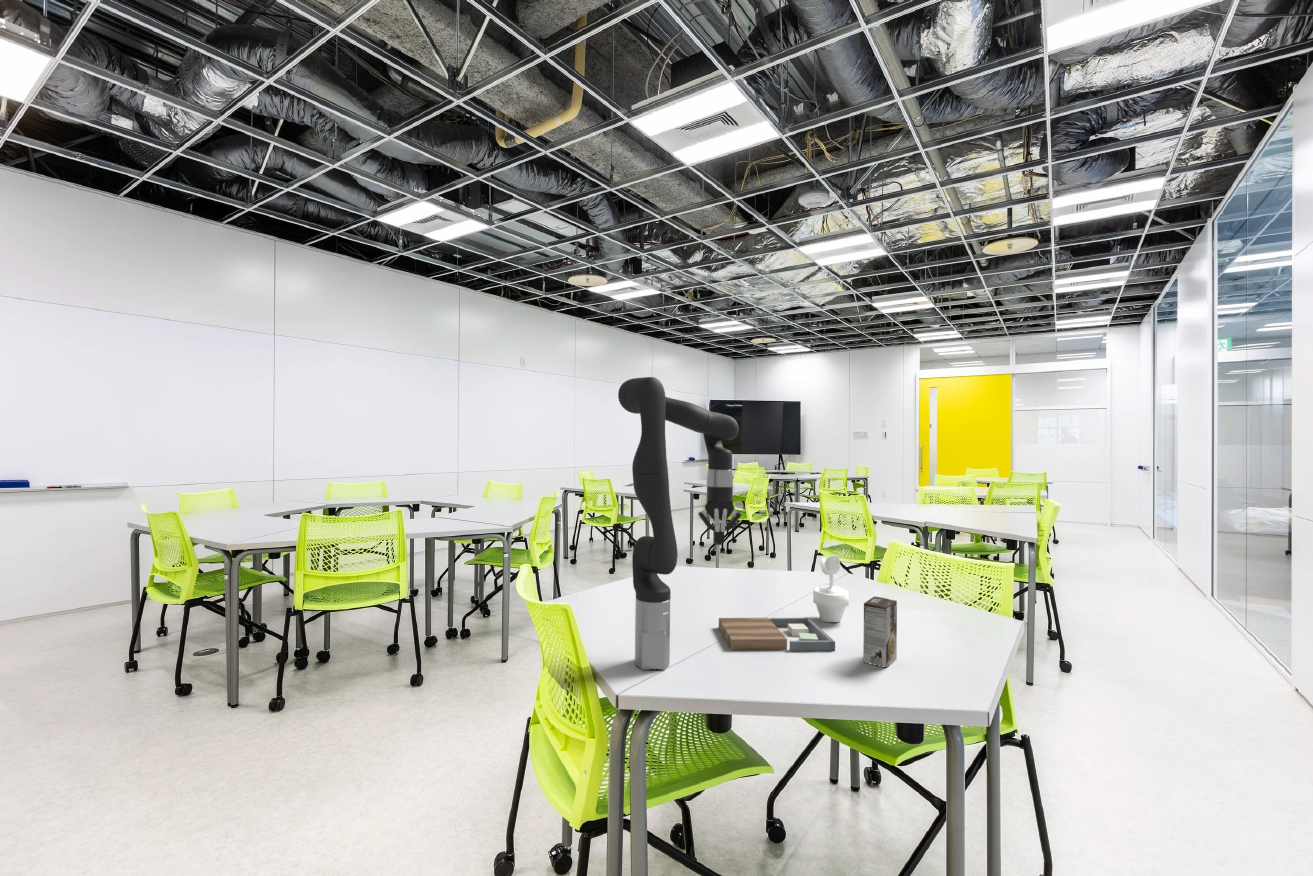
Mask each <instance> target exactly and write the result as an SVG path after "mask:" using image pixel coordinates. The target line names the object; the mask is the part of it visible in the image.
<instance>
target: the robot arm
mask: <svg viewBox="0 0 1313 876" xmlns="http://www.w3.org/2000/svg"><path fill="white" fill-rule="evenodd" d="M617 393H618V394H617V397H618V401H619V404H620V406H621V407H622V408H623V410H625V411H627V412H628V413H631V414H634V415H635V414H638V415H639V416H640V425H641V433H640V440H639V442H638V446H637V448H636V451H635V453H634V456H633V460H632V464H631V465H632V468H631V469H632V471H631V472H632V482H633V490H634V494H635V495H636V498H637V500H638V502H639V504H640V505H641V507H642V509H643V510H644V511H645V513H646V515H647V517H648V519H649V522H650V524H651V528H652V534H653V536H650V535H644V536H640V537H639V538H638V539H637V540H636V541H635V543H634V546H633V549H632V555H631V556H632V557H631V558H632V559H631V560H632V586H633V589H634V591H635V612H634V613H635V614H634V616H635V618H634V619H635V621H634V622H635V623H634V628H635V629H634V664H636V665H637V666H636V665H635V666H636V667H638V666H639V667H638V668H640V670H641V671H651V670H650V669H654V670H653V671H655V669H659V670H660V669H661V670H662V671H663V670H666V668H667V667H669V665H670V663H671V661H670V659H671V656H670V655H671V653H670V652H671V650H670V649H671V646H670V645H671V595H672V594H671V588H670V586H669V585H667V584H666V583H665V582H664V581H663V580H661V578H660V577H659V575H665V576H666V575H670V574H672V573H673V572H674V570H675V569H676V567H677V563H678V545H677V538H676V533H675V528H674V522H673V516H672V506H671V498H670V497H671V496H670V482H669V481H670V480H669V479H670V478H669V466H668V459H667V458H668V457H667V445H666V444H667V442H666V441H667V440H666V421H667V422H668V423H669V422H670V423H673V424H675V425H677V426H680V427H683V428H685V429H688V430H690V431H693V432H695V433H699V434H702V435H703V440H704V444H705V448H706V452H707V457H708V458H707V464H708V465H707V475H706V476H707V477H706V503H705V505H704V509H702V510H701V511H698V513H697V516H699V518H700V519H701V520H702V522H703V523H704V524H705V526H706V527H707V528H708V530H710V531H713V542H714V543H715V545H717V546H721V545H723V544H724V542H725V532H726V531H731V529H732V528H733V526H734V525H735V524H736V523H737V522H738V520H739V519H740V518H741V517H742V513H740V512H739V511H737V510H736V509H735V506H734V503H733V501H734V498H733V497H734V494H733V493H734V492H733V491H734V488H733V487H734V476H733V453H732V450H729V449H727V448H724V446H723V443H722V442H725V441H726V442H727V441H732V440H734V439H735V438H736V437H737V436H738V435H739V430H740V429H739V428H740V427H739V423H738V422H737V420H736V419H735V418H734V417H732V416H730V415H728V414H724V413H720V412H716V411H711V410H709V409H706V408H704V407H702V406H700V405H697V404H695V403H692V402H689V401H686V400H680V399H676V398H671V397H669V396H666V392H665V387H664V385H663V383H662V381H660V380H659V379H658V378H657V377H654V376H653V377H652V376H646V377H635V378H634V377H633V378H630V379H627V380H626V381H624V382H623V383H622V384H621V385H620V387H619V389H618V392H617ZM708 515H709V517H710V518H711V519H712V524H713V525H712V524H711V522H710V521H709V520H708V518H707V517H708ZM730 516H731V518H730V519H729V517H730ZM727 519H729V521H728V522H727ZM661 670H660V671H661Z"/></svg>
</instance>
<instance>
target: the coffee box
mask: <svg viewBox="0 0 1313 876" xmlns="http://www.w3.org/2000/svg"><path fill="white" fill-rule="evenodd" d="M897 610H898V602H897V600H895V599H890V598H886V597H881V596H880V597H879V596H873V597H871V598H870V599H868V600H867V601H865V602H864V603H863V643H862V645H863V648H862V649H863V652H862V653H863V655H862V656H863V663H864V662H867V663H871V664H875V665H880V666H884V667H887V666H888V665H889V664H890V663H891V662H892V663H893V662H895V661H896V660H897V655H898V654H897V653H898V651H897V650H898V649H897V644H898V642H897V640H898V638H897V637H898V635H897V633H898V631H897V630H898V624H897V623H898V621H897V619H898V618H897V617H898V616H897V615H898V611H897ZM867 663H866V664H867ZM892 663H891V664H892ZM871 664H870V665H871ZM891 664H890V665H891ZM875 665H874V666H875ZM890 665H889V666H890ZM889 666H888V667H889ZM888 667H887V668H888Z"/></svg>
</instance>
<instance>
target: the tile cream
mask: <svg viewBox="0 0 1313 876" xmlns="http://www.w3.org/2000/svg"><path fill="white" fill-rule="evenodd" d="M787 632H788V633H789V634H790V636H792V637H799V633H809V632H810V630H809V629H808V628H807V627H806V626H805V625H804V624H788V627H787Z"/></svg>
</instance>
